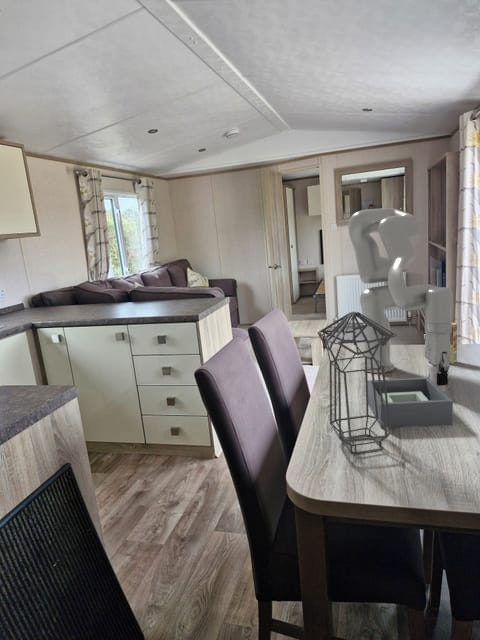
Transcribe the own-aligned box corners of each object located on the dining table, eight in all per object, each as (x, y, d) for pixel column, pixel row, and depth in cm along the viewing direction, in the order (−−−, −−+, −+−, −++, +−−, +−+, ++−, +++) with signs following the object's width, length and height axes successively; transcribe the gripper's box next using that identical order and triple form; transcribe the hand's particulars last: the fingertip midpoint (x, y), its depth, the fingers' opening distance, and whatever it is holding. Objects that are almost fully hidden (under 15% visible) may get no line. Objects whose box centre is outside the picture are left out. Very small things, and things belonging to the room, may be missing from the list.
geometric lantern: (340, 463, 105) (331, 321, 99) (323, 435, 121) (314, 310, 114) (404, 454, 106) (398, 313, 100) (378, 427, 121) (372, 304, 115)
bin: (366, 401, 139) (366, 380, 138) (428, 398, 137) (428, 377, 136) (381, 428, 121) (380, 404, 119) (452, 425, 119) (452, 401, 117)
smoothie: (451, 396, 138) (451, 353, 135) (429, 396, 139) (429, 354, 136) (446, 388, 144) (446, 347, 141) (425, 388, 145) (425, 348, 142)
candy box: (457, 361, 169) (457, 322, 165) (452, 364, 166) (453, 325, 163) (434, 358, 175) (434, 320, 172) (429, 360, 172) (429, 323, 169)
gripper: (417, 321, 146) (417, 373, 149) (436, 334, 129) (435, 391, 132) (440, 320, 145) (440, 371, 149) (462, 332, 128) (461, 390, 132)
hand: (438, 380), depth 140 cm, fingers closed on smoothie, 6 cm apart
